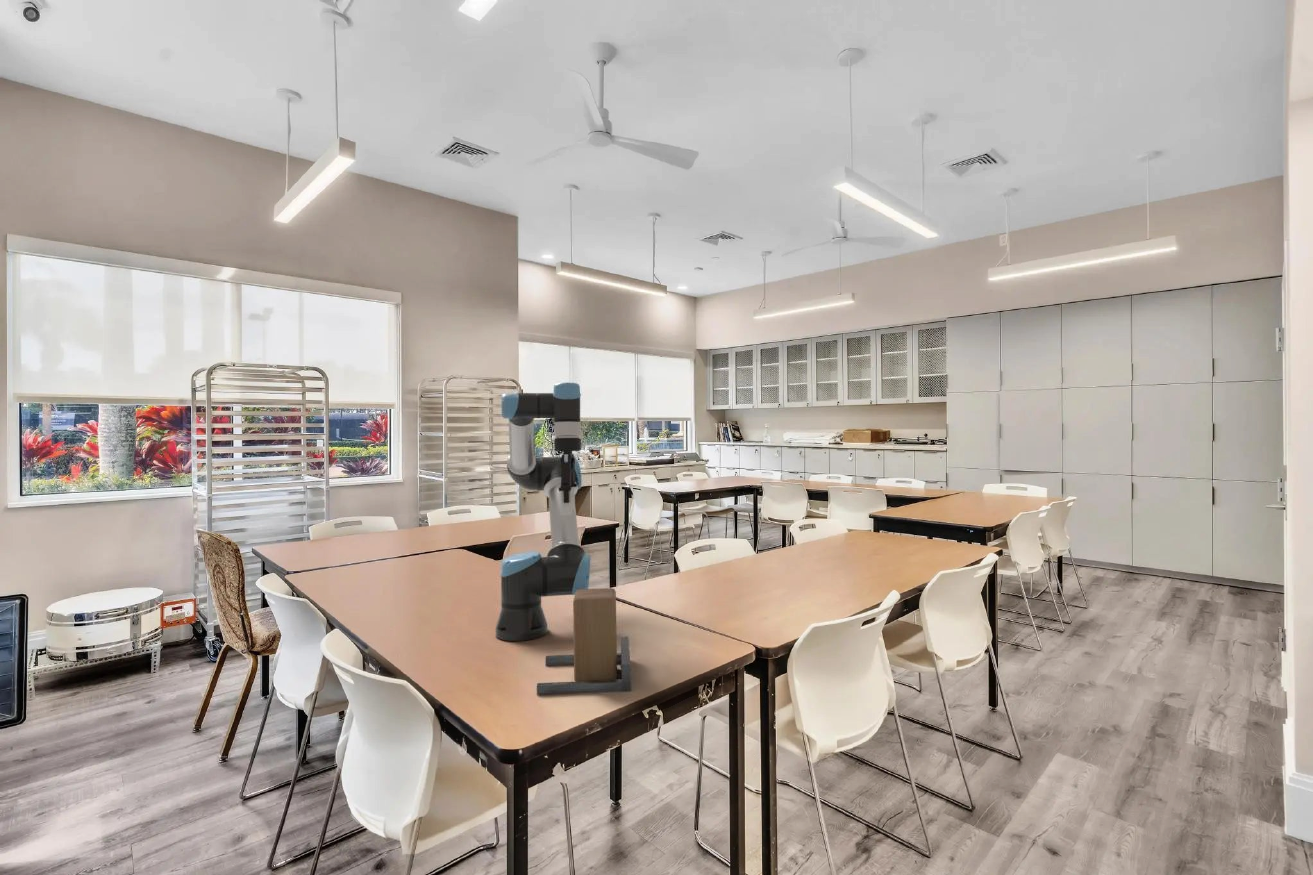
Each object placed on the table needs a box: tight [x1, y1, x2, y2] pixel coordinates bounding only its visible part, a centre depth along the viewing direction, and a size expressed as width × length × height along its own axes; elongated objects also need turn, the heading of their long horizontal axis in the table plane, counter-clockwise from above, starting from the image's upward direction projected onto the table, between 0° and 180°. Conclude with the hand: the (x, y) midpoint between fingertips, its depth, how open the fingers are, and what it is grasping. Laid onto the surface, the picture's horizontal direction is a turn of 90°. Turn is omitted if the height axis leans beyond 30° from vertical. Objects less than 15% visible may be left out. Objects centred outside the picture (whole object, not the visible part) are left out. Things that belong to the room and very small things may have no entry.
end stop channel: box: [536, 636, 632, 696], centre depth 146 cm, size 21×20×6 cm
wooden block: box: [572, 587, 618, 682], centre depth 146 cm, size 10×10×20 cm
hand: (568, 512), depth 172 cm, fingers open, 13 cm apart
